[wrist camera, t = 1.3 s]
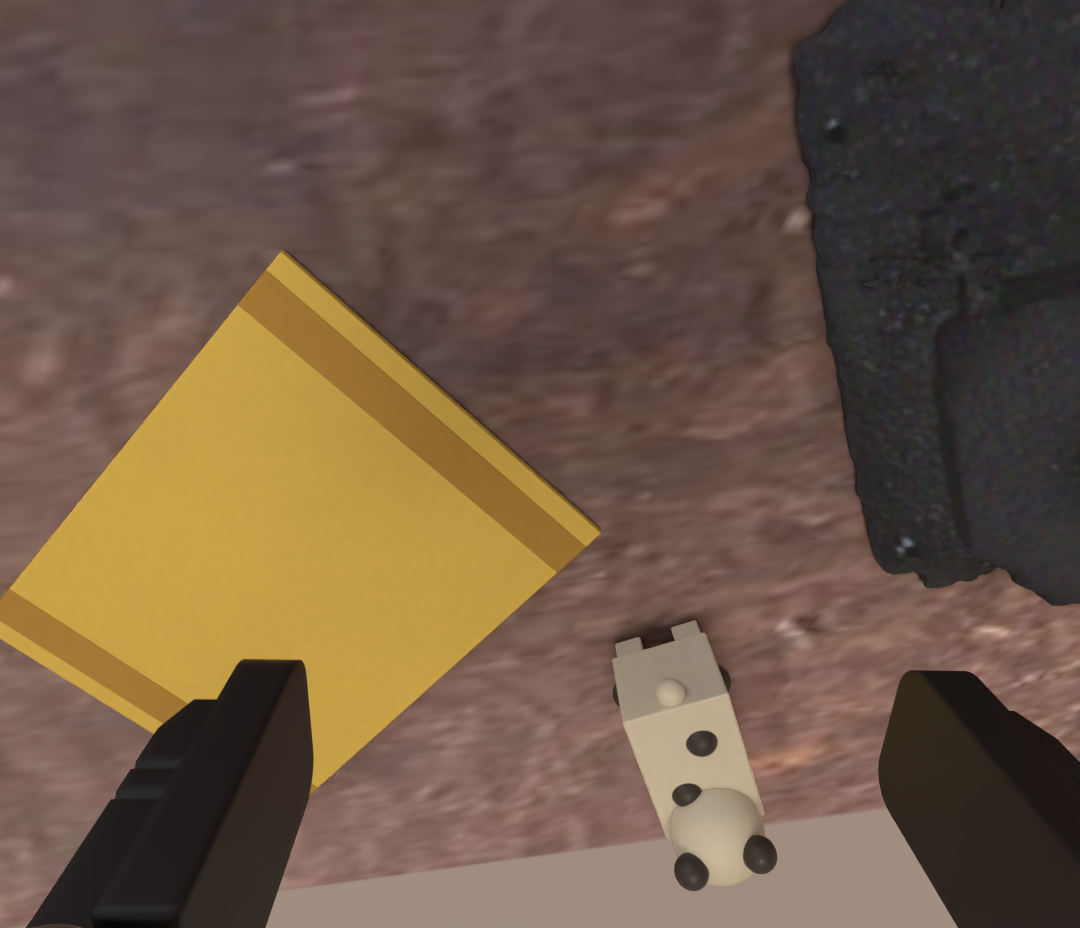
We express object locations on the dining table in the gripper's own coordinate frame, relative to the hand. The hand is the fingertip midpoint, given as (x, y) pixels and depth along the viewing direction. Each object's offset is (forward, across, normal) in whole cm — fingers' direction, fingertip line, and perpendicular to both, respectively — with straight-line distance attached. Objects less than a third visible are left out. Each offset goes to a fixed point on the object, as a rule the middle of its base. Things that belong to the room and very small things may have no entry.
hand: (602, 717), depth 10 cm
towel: (+18, +10, +8) cm, 22 cm away
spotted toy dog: (+18, -6, +13) cm, 22 cm away
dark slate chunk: (+17, -17, -4) cm, 24 cm away
